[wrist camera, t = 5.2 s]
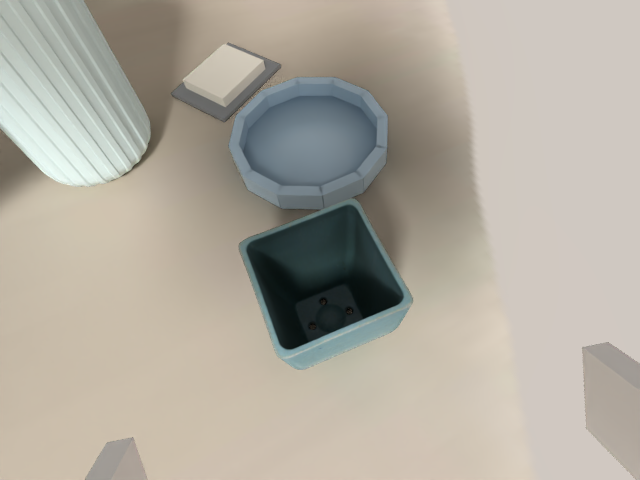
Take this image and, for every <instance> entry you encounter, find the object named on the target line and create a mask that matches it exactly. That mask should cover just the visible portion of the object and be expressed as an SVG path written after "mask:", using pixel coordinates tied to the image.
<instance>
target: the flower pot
mask: <svg viewBox="0 0 640 480" xmlns="http://www.w3.org/2000/svg"><path fill="white" fill-rule="evenodd" d="M239 251H240V254H241V256H242V259H243V262H244V264H245V267H246V270H247V272H248V275H249V278H250V281H251V283H252V286H253V289H254V292H255V295H256V298H257V300H258V303H259V306H260V309H261V312H262V315H263V317H264V320H265V323H266V326H267V329H268V332H269V335H270V338H271V341H272V344H273V347H274V350H275V352H276V354H277V356H278V357H279V358H281V359H282V360H283V361H285V362H286V363H287V364H289V365H290V366H292V367H293V368H295V369H299V370H303V369H307V368H309V367H312V366H314V365H316V364H319V363H321V362H323V361H325V360H328V359H330V358H332V357H335V356H337V355H339V354H342V353H344V352H346V351H349V350H351V349H353V348H356V347H358V346H360V345H363V344H365V343H367V342H370V341H372V340H374V339H377V338H379V337H382V336H384V335H386V334H388V333H390V332H392V331H394V330H395V329H396V328H397V327H398V326H399V324H400V323H401V321H402V320H403V318H404V317H405V315H406V313H407V312H408V310H409V308H410V306H411V305H412V303H413V298H412V295H411V293H410V292H409V289H408V288H407V286H406V285H405V283H404V281H403V279H402V278H401V276H400V274H399V272H398V271H397V269H396V268H395V266H394V264H393V263H392V261H391V259H390V257H389V256H388V254H387V252H386V250H385V248H384V247H383V245H382V243H381V241H380V239H379V238H378V236H377V234H376V232H375V230H374V229H373V227H372V225H371V223H370V221H369V219H368V218H367V216H366V214H365V212H364V210H363V208H362V206H361V204H360V203H359V202H358V201H357V200H356V199H354V198H351V199H347V200H344V201H342V202H339V203H337V204H334V205H332V206H329V207H327V208H324V209H322V210H320V211H317V212H314V213H312V214H310V215H307V216H304V217H302V218H299V219H297V220H294V221H292V222H289V223H287V224H284V225H281V226H279V227H276V228H273V229H271V230H268V231H266V232H262V233H260V234H257V235H254V236H251V237H249V238H247V239H245V240H243V241H242V242H241V243H240V244H239ZM322 299H325V300H326V301H327V303H326V304H325V305H322V304H321V300H322ZM349 308H350V309H352V310H353V313H352V314H347V313H346V310H347V309H349ZM311 324H315V325H316V328H315V329H314V330H311V329H310V325H311Z"/></svg>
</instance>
